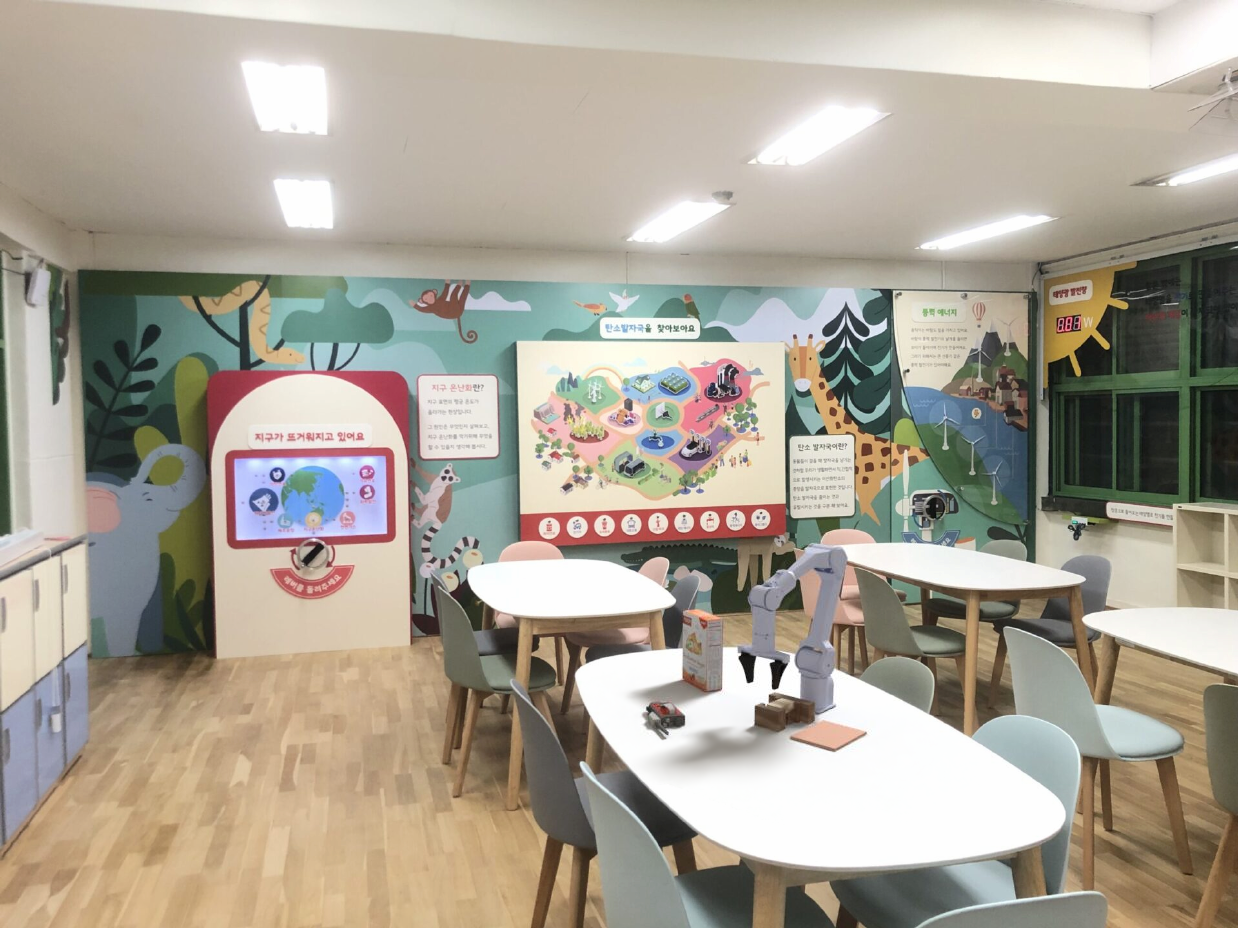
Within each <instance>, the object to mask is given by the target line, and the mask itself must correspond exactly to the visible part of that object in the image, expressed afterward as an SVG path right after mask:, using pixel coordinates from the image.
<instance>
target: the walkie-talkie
mask: <svg viewBox="0 0 1238 928" xmlns="http://www.w3.org/2000/svg"><path fill="white" fill-rule="evenodd" d="M645 710H646V711H647V712H648V723H649V724H650V725H651V727H652V728H658V729H659V730H660V731H661V733H663V734H664V735H667V736H669V735H670V733H669V730H667V729H666V728H669V727H671V728H673V727H682V726H685V725H686V715H685V714H684V713H683V712H682V711H681V710H679V708H677V707H676V705H674V703H672V702H669V701H667V700H664V701H652V702H650V703H649V704H648V706H646V707H645Z"/></svg>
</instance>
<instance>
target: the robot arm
mask: <svg viewBox="0 0 1238 928" xmlns="http://www.w3.org/2000/svg"><path fill="white" fill-rule="evenodd" d="M848 559H849V557H848V555H847V553H846V551H845V549H844V547H841V546H834V545H827V544H821V543H816V542H812V543H809V544H808V545H807V547H805V548H804V549H803V553H802V555H801V556H800V557H799V558H798V559H797V560H796V561H795V562H794V563H793V564H792V565H791V566H790V567H789V568H788V569H778V570H777V571H775V574H774V575H772V576H771V577H770V578H769V579H767V580H765V581H764V583H763V584H761V585H760V584H756V585H755V586H753V587H752V588H751V589H750V591H749V595H748V596H747V601H748V603H749V606H750V612H751V614H752V629H751V630H752V634H751V635H752V637H751V641H752V642H751V643H752V644H751V645H750V644H743V643H742V644H738V645H737V654H740V655H739V656H738V659H737V660H738V661H739V662H740V664H741V666H742V670H743V672H744V676H745V681H746V684H751V683H754V679H755V664H756V659H757V657H758V658H762V659H767V660H772V662H769V668H770V674H771V690H773V691H776V690H778V689H779V687H780V684H781V680H782V677H783V675H784V672H785V670H786V668H787V667H788V665H789V663H790V662H791V654H789V653H785V652H782V651H780V650H777V649H776V648H775V647H776V646H775V645H776V644H775V643H776V613H777V611H776V610H777V609H778V608H780V606H781V603H782V600H783V599H784V597H785V596H786V595H787V594H788V593H790V592H791V591H792V590H793V589H795V588H796V585H797V580H799V579H800V578H802V577H803V576H804V575H806V574H807V573H809V572H811V571H812V570H813V571H814V572H815V573H816V574H817V575H818V576H819V578H820V580H821V581H820V586H819V591H818V595H817V599H816V604H815V608H814V613H813V617H812V621H811V626H810V630H809V635H808V636H807V637H805V638H804V639H803V640H801V641H800V643H799V647H798V649H796V650H797V651H796V652H795V654H794V659H793V660H794V665H795V667H796V669H798V673H799V674H800V685H799V686H800V690H799V698H800V699H804V700H808V701H812V702H815V714H821V713H823V712H825V710H826V711H827V710H830V709H832V708H835V707H836V706H837V703H834V693H835V692H834V691H835V689H834V687H835V685H834V684H835V683H834V679H833V677H832V674H833V672H834V671H835V667H836V653H837V652H836V649H835V647H834V646H833V645H832V644H831V642H830V638H831V633H832V630H833V624H834V620H835V615H836V610H837V605H838V602H839V597H840V592H841V588H842V583H843V579H844V577H845V572H846V568H847V562H848Z"/></svg>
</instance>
